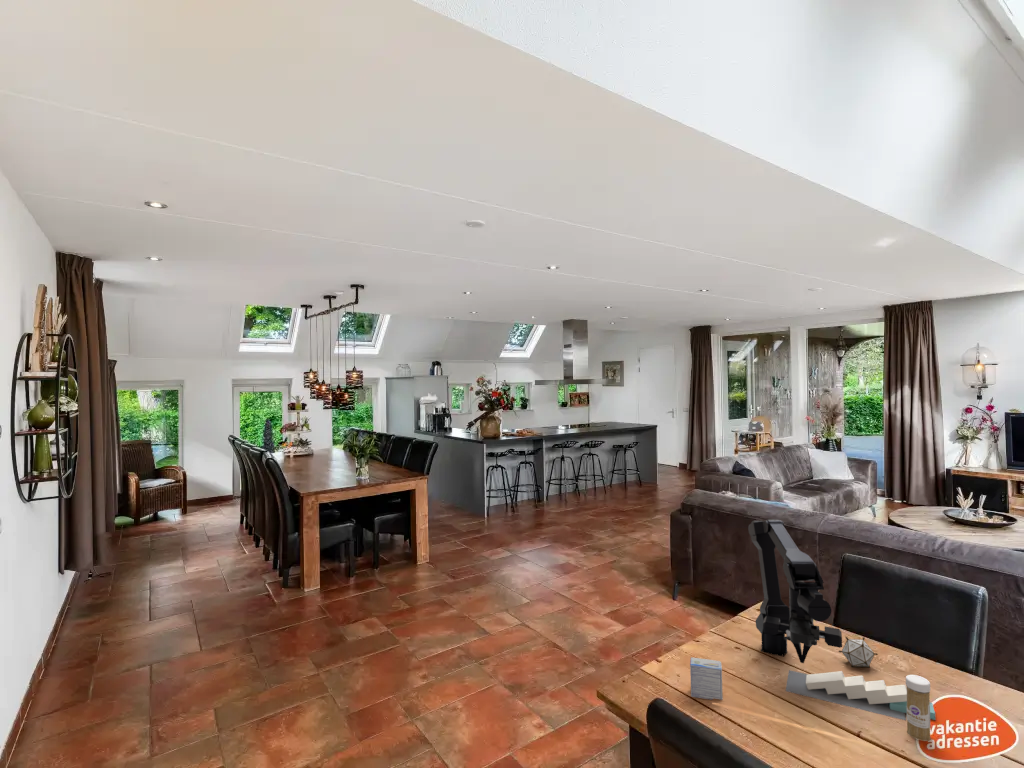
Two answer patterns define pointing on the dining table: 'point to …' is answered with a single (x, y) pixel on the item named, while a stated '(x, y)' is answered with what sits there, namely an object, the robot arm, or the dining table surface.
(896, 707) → the domino
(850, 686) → the domino
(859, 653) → the game die
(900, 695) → the domino
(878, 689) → the domino
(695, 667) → the medicine box
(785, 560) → the robot arm
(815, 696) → the slate mat
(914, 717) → the sprinkles bottle
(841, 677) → the domino
